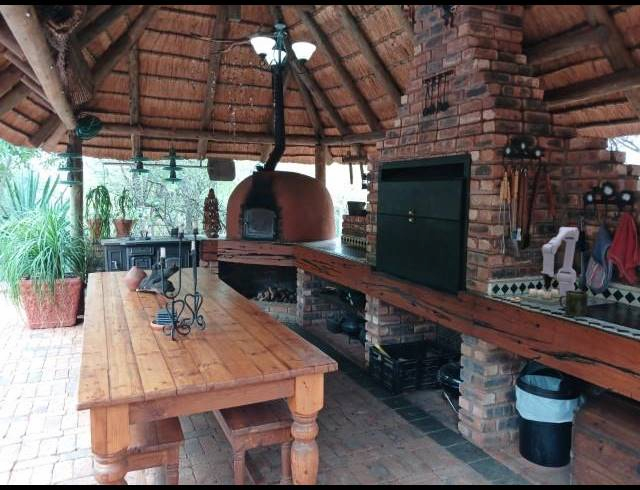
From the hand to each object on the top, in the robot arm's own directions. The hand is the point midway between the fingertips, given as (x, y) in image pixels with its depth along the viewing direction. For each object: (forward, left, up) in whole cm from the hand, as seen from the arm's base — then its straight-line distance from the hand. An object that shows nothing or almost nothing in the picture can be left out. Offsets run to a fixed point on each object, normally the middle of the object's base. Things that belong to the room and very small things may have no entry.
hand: (547, 286), depth 300 cm
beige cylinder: (-9, -9, -9) cm, 16 cm away
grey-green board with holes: (-5, -5, -9) cm, 11 cm away
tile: (+6, -17, -9) cm, 20 cm away
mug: (+16, +23, -10) cm, 30 cm away
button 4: (0, -9, -7) cm, 12 cm away
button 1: (-9, 0, -7) cm, 12 cm away
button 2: (0, 0, -7) cm, 7 cm away
